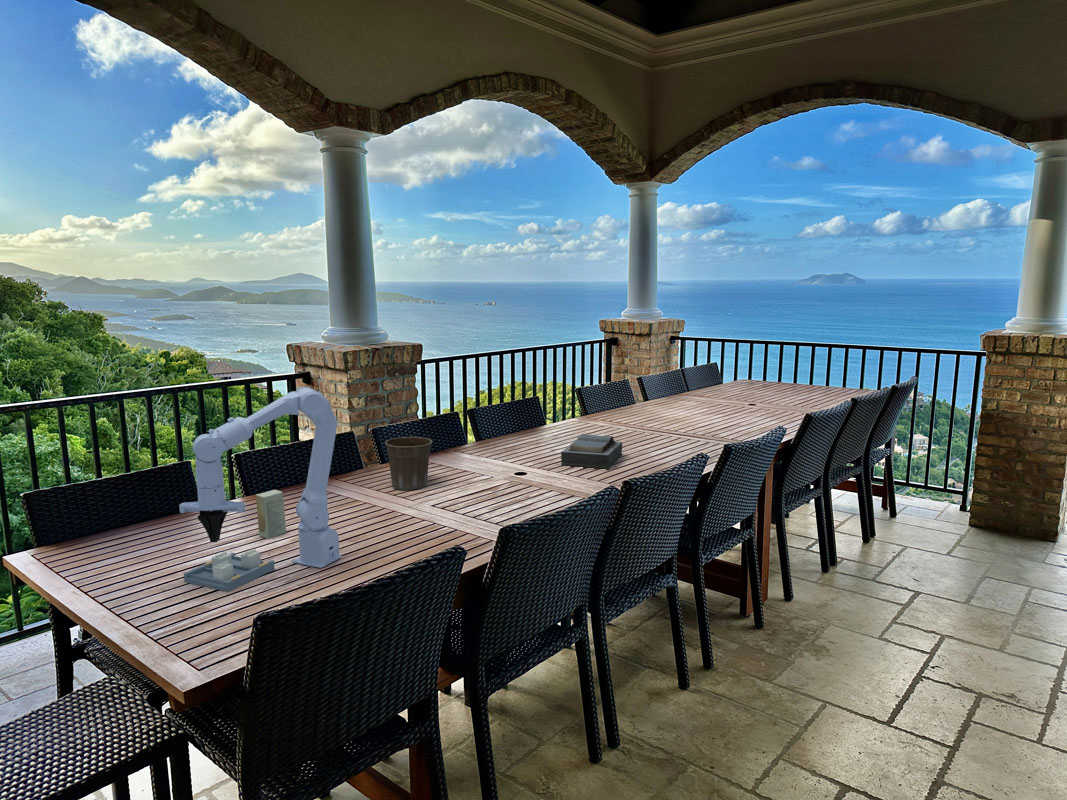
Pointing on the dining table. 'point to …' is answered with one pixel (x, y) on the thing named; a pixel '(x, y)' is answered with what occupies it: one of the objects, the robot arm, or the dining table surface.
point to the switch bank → (241, 577)
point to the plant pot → (409, 462)
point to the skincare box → (270, 513)
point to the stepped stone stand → (592, 452)
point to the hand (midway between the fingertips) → (215, 540)
